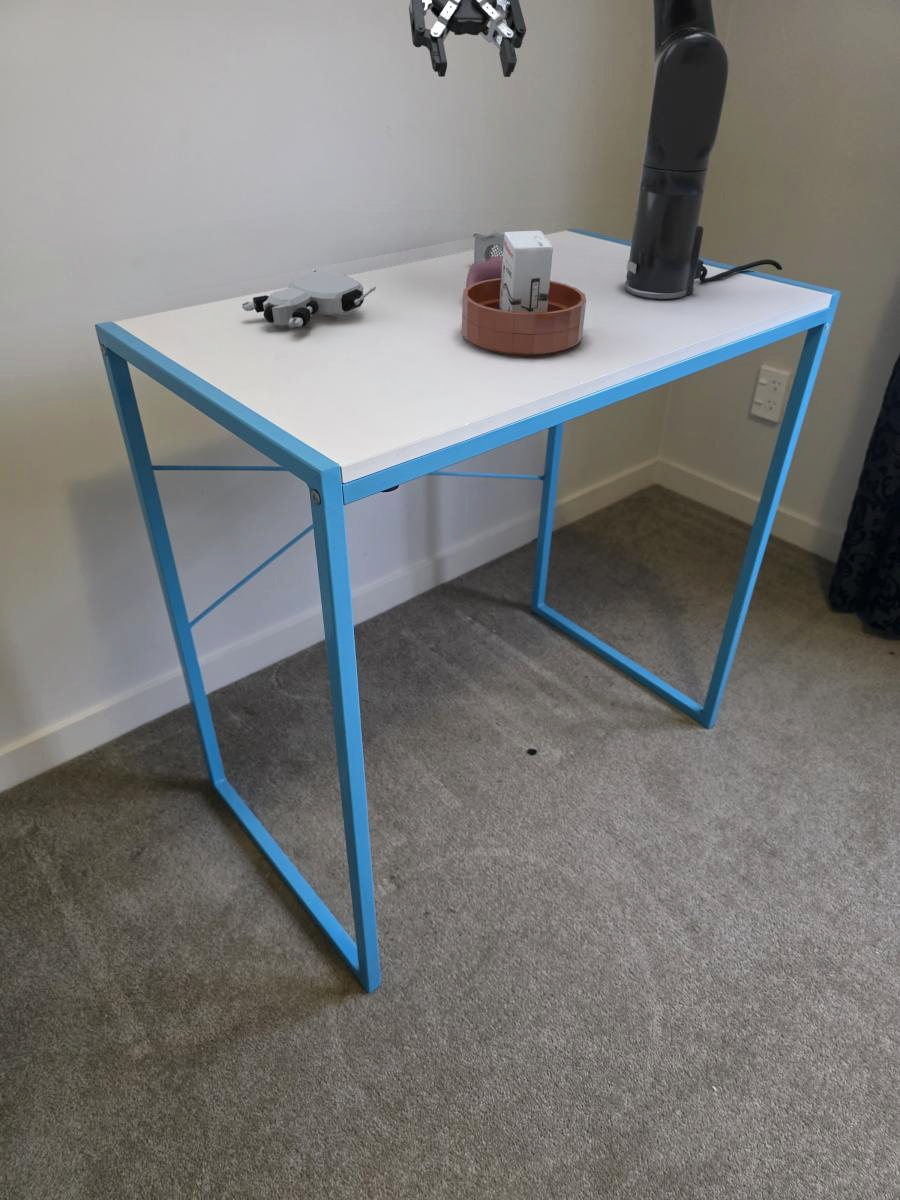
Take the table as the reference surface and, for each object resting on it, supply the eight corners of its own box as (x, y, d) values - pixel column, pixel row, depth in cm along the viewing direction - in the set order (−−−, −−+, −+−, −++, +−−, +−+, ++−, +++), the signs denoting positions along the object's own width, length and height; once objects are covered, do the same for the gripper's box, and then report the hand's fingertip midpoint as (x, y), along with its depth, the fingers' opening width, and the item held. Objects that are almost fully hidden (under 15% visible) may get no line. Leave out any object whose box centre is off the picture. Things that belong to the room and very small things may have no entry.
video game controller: (532, 310, 127) (536, 261, 126) (532, 305, 122) (536, 253, 121) (465, 307, 128) (468, 258, 126) (463, 301, 123) (467, 250, 122)
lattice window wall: (536, 279, 135) (539, 239, 132) (529, 281, 134) (532, 241, 131) (477, 264, 141) (479, 226, 138) (470, 266, 140) (471, 228, 137)
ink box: (497, 322, 116) (501, 229, 109) (533, 321, 116) (540, 229, 109) (507, 344, 109) (513, 246, 102) (546, 343, 109) (554, 246, 102)
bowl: (556, 315, 121) (559, 274, 117) (599, 353, 108) (605, 309, 105) (448, 322, 117) (449, 280, 114) (481, 362, 105) (483, 317, 102)
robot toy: (300, 348, 110) (381, 313, 119) (294, 313, 107) (378, 280, 116) (239, 326, 116) (320, 295, 125) (233, 293, 113) (316, 263, 122)
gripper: (404, -72, 104) (425, 47, 102) (516, -67, 107) (539, 48, 105) (395, -18, 111) (416, 94, 109) (500, -15, 114) (522, 94, 112)
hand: (476, 72), depth 107 cm, fingers open, 8 cm apart
